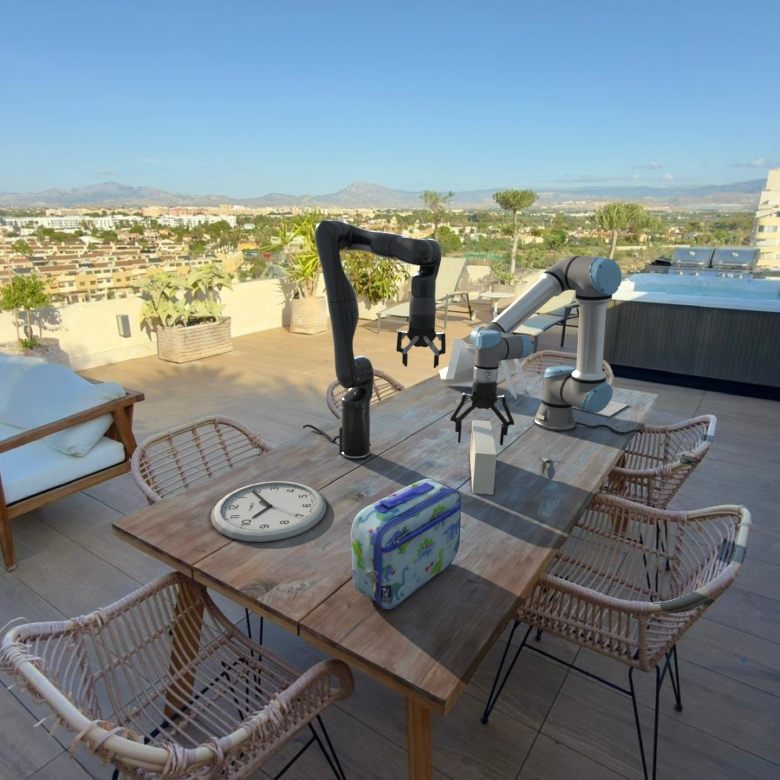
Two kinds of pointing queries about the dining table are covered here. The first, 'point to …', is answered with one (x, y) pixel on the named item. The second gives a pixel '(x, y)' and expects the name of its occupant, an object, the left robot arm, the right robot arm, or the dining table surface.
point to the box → (482, 457)
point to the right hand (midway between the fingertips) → (480, 442)
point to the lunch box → (405, 541)
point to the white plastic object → (464, 367)
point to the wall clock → (268, 511)
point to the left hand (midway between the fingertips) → (420, 366)
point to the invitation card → (610, 408)
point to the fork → (545, 460)
